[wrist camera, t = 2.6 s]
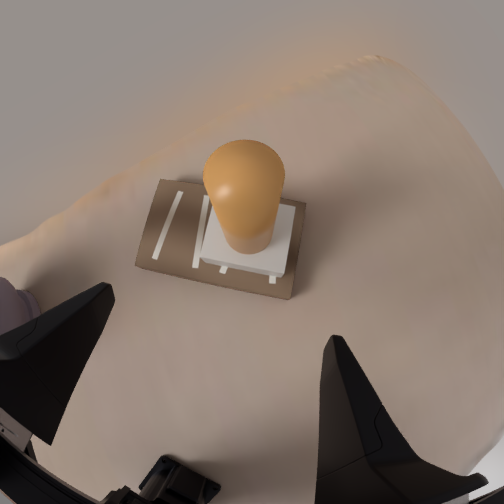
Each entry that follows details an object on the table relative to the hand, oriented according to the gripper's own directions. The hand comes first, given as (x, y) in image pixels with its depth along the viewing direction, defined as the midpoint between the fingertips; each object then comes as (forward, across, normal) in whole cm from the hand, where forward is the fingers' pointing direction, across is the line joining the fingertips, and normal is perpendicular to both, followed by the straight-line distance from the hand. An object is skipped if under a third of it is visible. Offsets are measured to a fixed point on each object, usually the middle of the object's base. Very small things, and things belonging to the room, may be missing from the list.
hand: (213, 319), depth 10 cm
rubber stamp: (+12, 0, +3) cm, 12 cm away
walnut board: (+13, +3, +4) cm, 14 cm away
